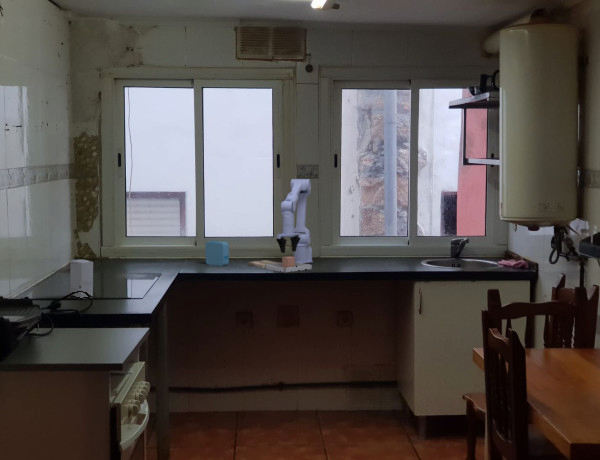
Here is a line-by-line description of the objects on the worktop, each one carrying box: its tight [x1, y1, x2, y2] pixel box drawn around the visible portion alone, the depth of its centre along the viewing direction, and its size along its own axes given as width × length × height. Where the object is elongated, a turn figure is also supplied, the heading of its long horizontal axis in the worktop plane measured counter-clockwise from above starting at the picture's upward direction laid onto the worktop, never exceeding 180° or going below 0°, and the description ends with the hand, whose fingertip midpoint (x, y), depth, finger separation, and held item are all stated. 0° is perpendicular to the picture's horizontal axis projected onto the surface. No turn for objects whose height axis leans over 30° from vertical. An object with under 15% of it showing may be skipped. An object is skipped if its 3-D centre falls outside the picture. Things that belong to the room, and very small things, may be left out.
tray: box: [264, 262, 313, 273], centre depth 386 cm, size 18×16×2 cm
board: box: [247, 259, 281, 269], centre depth 398 cm, size 12×12×2 cm
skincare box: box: [69, 259, 94, 299], centre depth 311 cm, size 8×6×15 cm
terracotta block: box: [281, 255, 296, 268], centre depth 386 cm, size 4×4×6 cm
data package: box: [205, 240, 230, 267], centre depth 400 cm, size 12×4×12 cm, turn 56°
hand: (288, 252), depth 385 cm, fingers open, 7 cm apart
